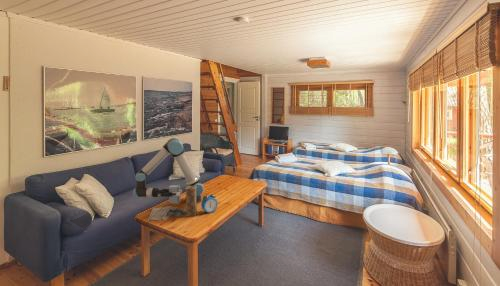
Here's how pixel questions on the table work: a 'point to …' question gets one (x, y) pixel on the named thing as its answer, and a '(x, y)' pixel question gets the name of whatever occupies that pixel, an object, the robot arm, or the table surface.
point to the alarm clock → (209, 203)
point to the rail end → (174, 198)
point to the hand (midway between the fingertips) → (181, 192)
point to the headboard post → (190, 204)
